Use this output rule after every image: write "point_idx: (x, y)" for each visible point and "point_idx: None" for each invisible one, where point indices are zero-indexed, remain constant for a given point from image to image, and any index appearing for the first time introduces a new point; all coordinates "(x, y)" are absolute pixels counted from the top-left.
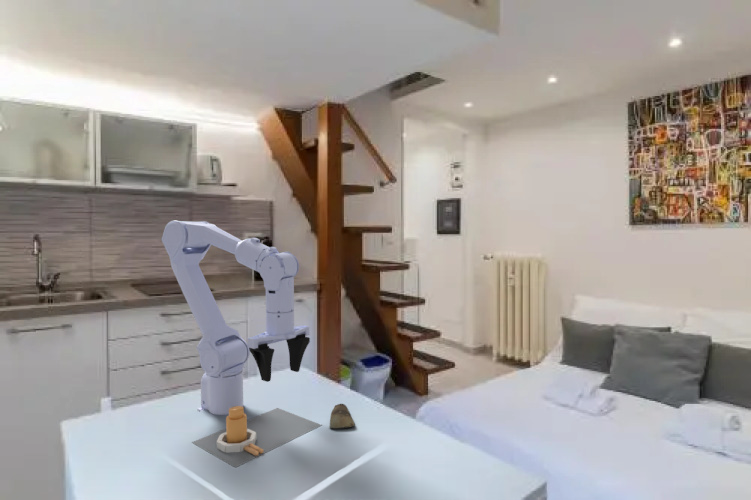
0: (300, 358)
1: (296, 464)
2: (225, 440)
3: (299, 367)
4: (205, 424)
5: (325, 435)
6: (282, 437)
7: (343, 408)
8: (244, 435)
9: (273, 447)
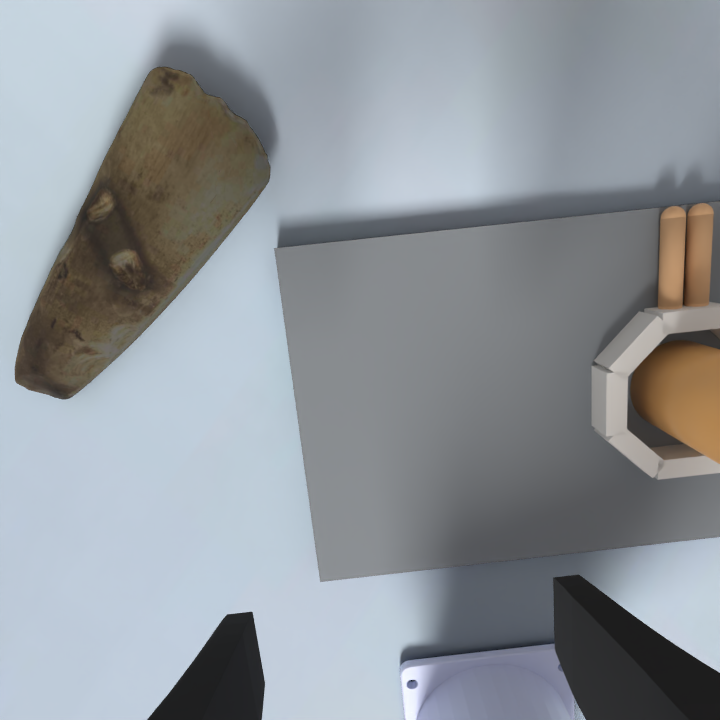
0: (187, 704)
1: (591, 38)
2: None
3: (219, 633)
4: None
5: (307, 176)
6: (503, 282)
7: (72, 286)
8: (696, 353)
9: (594, 225)
